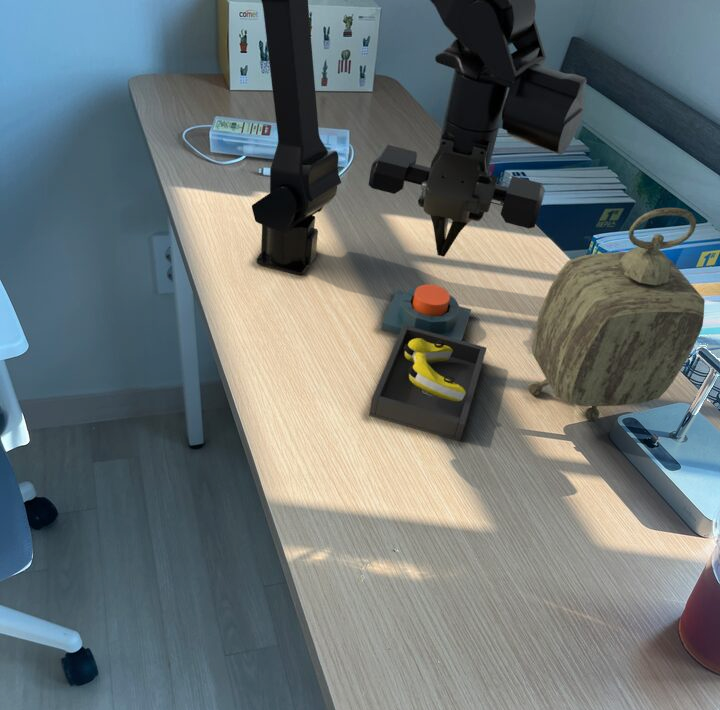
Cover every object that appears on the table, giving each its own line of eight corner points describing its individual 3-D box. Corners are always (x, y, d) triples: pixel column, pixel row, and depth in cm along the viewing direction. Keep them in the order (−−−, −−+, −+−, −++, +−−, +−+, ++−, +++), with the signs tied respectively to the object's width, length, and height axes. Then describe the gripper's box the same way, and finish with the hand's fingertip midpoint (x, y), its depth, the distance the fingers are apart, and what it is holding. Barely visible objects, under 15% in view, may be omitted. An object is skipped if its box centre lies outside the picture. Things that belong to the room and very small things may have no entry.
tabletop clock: (621, 379, 94) (716, 187, 75) (654, 430, 88) (766, 236, 69) (513, 384, 90) (585, 185, 72) (540, 438, 84) (626, 236, 66)
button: (408, 311, 93) (411, 299, 92) (416, 292, 96) (419, 280, 95) (443, 320, 93) (446, 308, 92) (450, 301, 96) (453, 289, 95)
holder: (368, 416, 83) (371, 397, 81) (399, 342, 93) (403, 324, 91) (459, 442, 82) (465, 424, 80) (481, 365, 92) (486, 347, 90)
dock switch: (380, 330, 94) (384, 310, 92) (395, 296, 100) (399, 277, 97) (457, 351, 93) (463, 332, 91) (469, 316, 99) (474, 297, 96)
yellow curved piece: (395, 352, 90) (406, 327, 88) (443, 368, 92) (456, 343, 90) (403, 396, 82) (416, 369, 80) (456, 412, 84) (469, 386, 82)
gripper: (364, 127, 73) (346, 268, 85) (553, 174, 71) (508, 312, 83) (392, 88, 81) (372, 222, 92) (563, 130, 79) (521, 261, 90)
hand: (441, 254), depth 89 cm, fingers closed
